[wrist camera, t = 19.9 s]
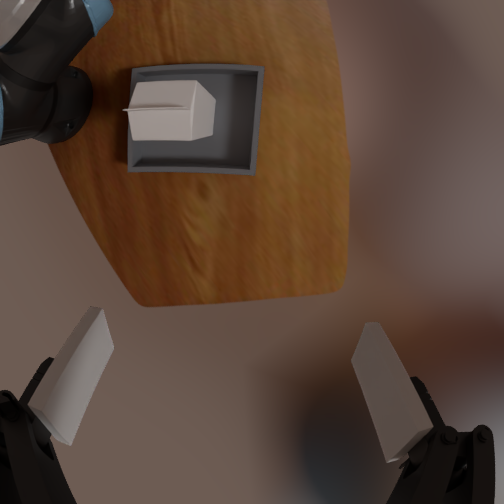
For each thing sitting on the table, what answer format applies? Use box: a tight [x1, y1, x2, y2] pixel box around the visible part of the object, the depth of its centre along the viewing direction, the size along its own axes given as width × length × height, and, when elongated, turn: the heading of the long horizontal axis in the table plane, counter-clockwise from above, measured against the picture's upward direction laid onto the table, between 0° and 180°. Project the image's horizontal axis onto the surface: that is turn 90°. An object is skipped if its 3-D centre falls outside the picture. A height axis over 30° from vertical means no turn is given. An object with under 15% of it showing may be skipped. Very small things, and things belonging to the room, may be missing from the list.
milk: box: [122, 80, 216, 141], centre depth 29 cm, size 6×6×22 cm
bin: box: [128, 64, 264, 175], centre depth 38 cm, size 20×17×5 cm
